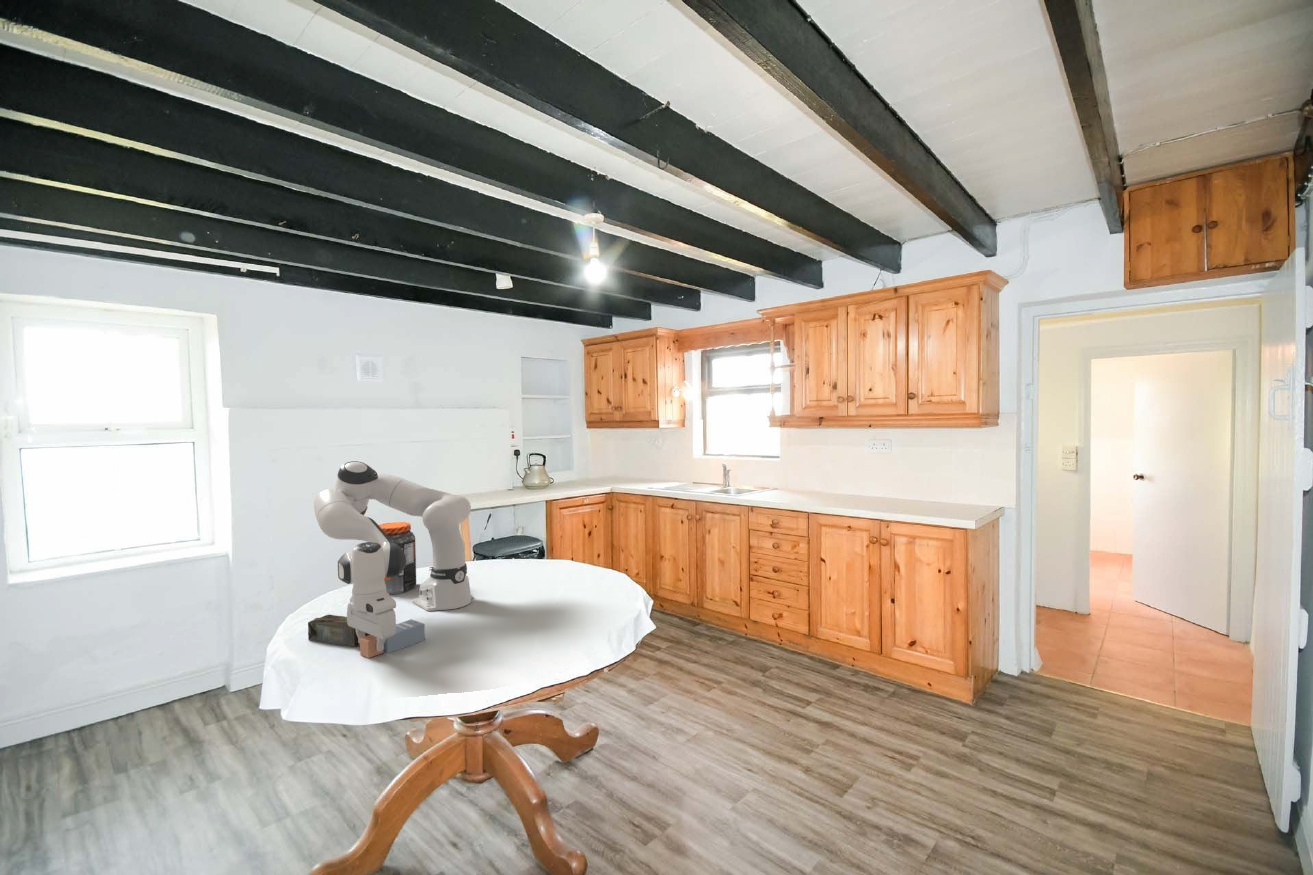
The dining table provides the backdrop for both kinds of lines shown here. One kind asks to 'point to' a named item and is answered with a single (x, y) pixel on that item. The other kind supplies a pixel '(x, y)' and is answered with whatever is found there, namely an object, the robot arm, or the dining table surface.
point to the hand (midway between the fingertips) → (371, 646)
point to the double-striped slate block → (405, 636)
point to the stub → (368, 646)
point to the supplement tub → (406, 542)
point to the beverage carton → (332, 631)
